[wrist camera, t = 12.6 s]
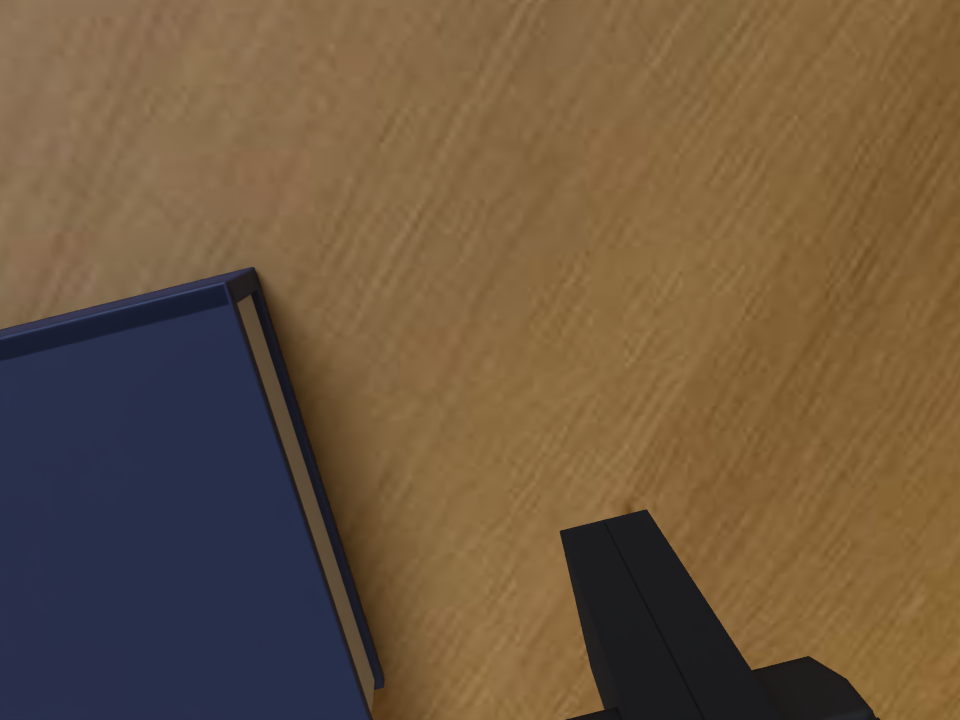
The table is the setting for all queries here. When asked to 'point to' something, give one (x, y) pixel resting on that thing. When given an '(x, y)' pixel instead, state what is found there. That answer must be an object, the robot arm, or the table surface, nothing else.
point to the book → (169, 521)
